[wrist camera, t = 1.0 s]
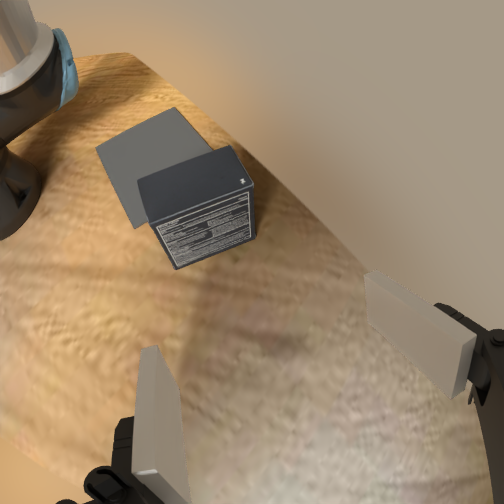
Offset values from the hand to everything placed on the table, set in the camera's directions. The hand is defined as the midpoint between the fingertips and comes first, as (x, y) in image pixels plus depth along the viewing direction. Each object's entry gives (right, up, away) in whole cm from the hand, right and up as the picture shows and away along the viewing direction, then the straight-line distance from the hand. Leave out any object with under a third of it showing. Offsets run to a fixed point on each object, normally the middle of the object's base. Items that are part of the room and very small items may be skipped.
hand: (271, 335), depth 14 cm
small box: (-6, +6, +25) cm, 27 cm away
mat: (-15, +17, +31) cm, 38 cm away
